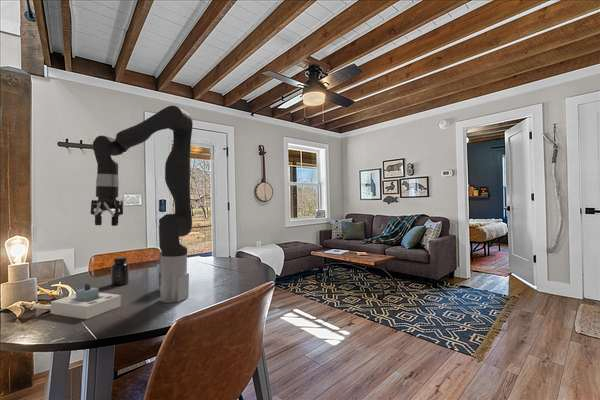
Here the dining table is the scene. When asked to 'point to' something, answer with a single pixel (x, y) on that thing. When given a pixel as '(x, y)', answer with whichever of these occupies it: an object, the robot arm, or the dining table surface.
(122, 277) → the supplement bottle
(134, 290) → the dining table surface
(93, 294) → the plug block
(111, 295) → the socket plate
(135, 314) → the dining table surface
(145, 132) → the robot arm
